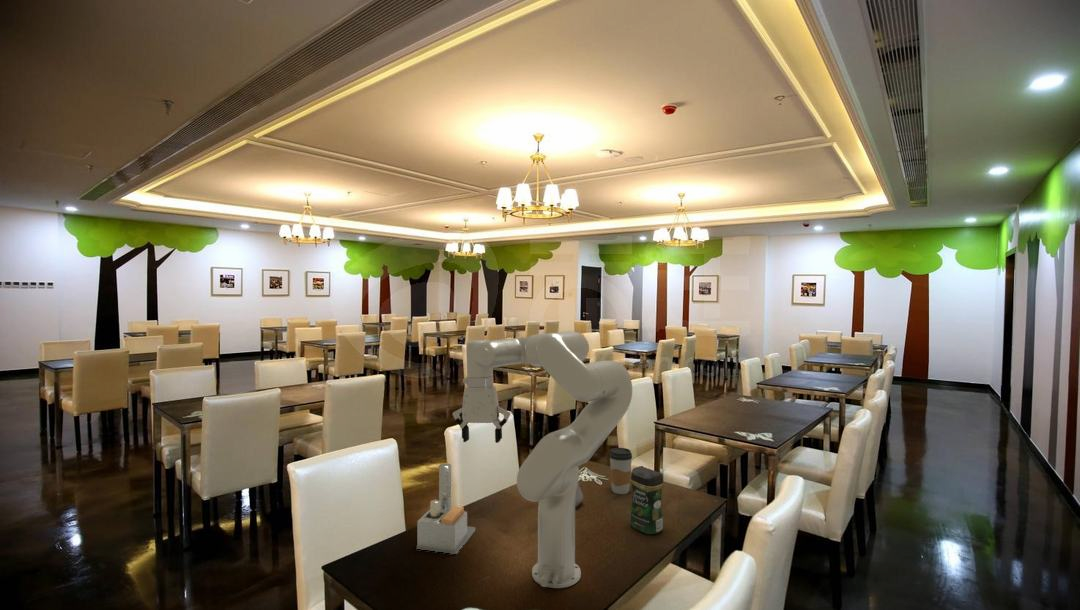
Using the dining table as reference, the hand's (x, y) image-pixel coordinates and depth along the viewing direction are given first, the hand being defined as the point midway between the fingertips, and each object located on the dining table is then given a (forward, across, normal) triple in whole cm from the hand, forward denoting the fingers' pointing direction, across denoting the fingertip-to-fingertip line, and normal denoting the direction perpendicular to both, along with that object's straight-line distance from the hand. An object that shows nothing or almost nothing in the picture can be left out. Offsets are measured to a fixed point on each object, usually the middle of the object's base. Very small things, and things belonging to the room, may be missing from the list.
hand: (482, 441), depth 148 cm
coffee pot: (+30, +16, +28) cm, 44 cm away
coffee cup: (+30, +37, +47) cm, 67 cm away
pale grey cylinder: (+25, -14, -3) cm, 29 cm away
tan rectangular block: (+28, -9, -3) cm, 30 cm away
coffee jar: (+31, +46, +18) cm, 59 cm away
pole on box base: (+29, -12, 0) cm, 31 cm away
